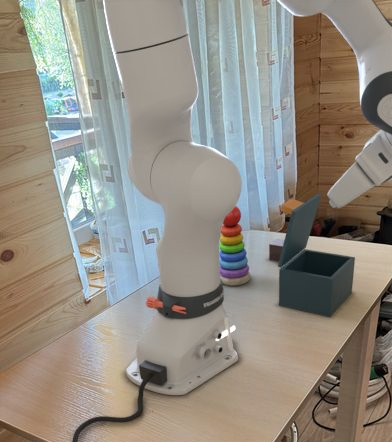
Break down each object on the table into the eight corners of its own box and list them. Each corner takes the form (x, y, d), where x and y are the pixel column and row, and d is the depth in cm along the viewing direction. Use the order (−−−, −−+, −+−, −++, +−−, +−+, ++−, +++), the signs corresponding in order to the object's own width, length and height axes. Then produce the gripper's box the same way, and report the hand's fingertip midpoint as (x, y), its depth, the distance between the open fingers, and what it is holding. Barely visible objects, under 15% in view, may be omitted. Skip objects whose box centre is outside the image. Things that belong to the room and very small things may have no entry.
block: (284, 262, 135) (284, 246, 132) (269, 259, 137) (269, 244, 135) (291, 256, 138) (291, 241, 135) (276, 254, 140) (276, 238, 138)
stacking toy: (250, 272, 131) (248, 199, 121) (250, 286, 124) (248, 209, 114) (219, 273, 132) (215, 201, 122) (217, 287, 125) (213, 211, 115)
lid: (321, 194, 110) (301, 187, 112) (295, 212, 101) (274, 203, 103) (306, 247, 118) (287, 240, 120) (280, 267, 110) (261, 259, 111)
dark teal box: (351, 293, 117) (355, 257, 112) (329, 317, 109) (332, 279, 104) (303, 283, 123) (304, 248, 119) (278, 305, 115) (279, 269, 110)
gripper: (395, 130, 99) (343, 177, 110) (357, 153, 86) (302, 205, 96) (416, 155, 100) (361, 200, 110) (381, 183, 86) (323, 231, 96)
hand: (333, 203), depth 103 cm, fingers closed
